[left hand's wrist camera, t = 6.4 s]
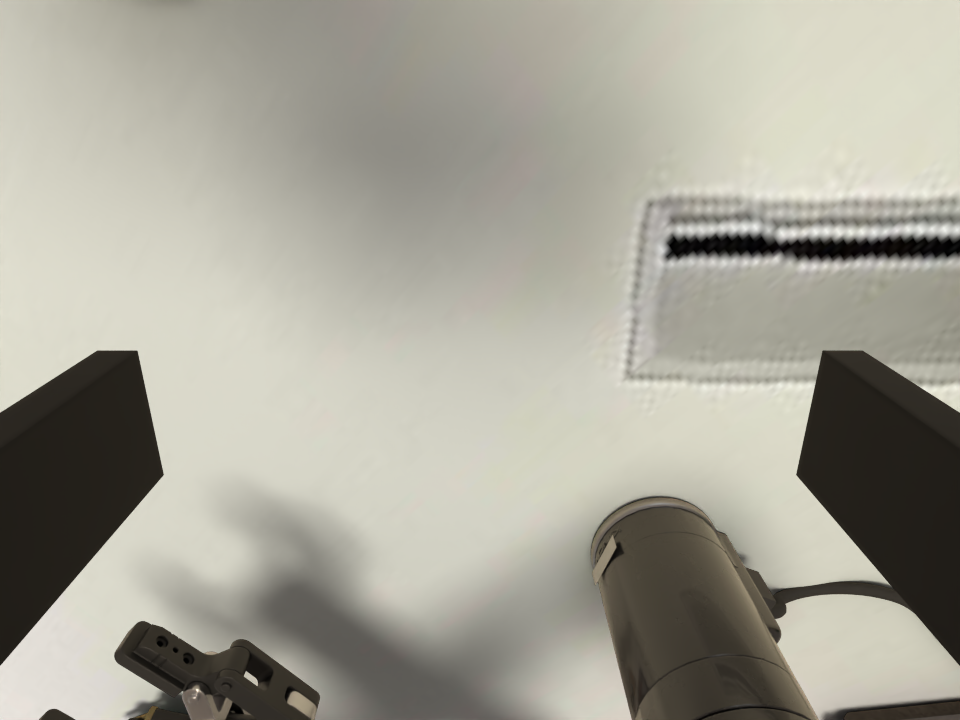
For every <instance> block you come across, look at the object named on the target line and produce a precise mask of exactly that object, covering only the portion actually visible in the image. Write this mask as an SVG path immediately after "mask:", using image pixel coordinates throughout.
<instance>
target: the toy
mask: <svg viewBox="0 0 960 720" xmlns="http://www.w3.org/2000/svg"><path fill="white" fill-rule="evenodd" d="M844 720H960V701H956V702H946V703H936V704H927V705H917V706H907V707H897V708H887V709H878V710H868V711H858V712H848V713H847V714H846V715H845V717H844Z"/></svg>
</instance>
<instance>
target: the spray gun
mask: <svg viewBox="0 0 960 720" xmlns="http://www.w3.org/2000/svg"><path fill="white" fill-rule="evenodd" d="M129 720H191V719H190V716H189V715H187V714H182V713H177V712H172V711H167V710H162V709H158V707H156V706H152V707H151V708H150V710H149V711H148V713H146V714H143V715H140V716H137V717H135V718H130V719H129Z"/></svg>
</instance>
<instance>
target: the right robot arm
mask: <svg viewBox="0 0 960 720" xmlns="http://www.w3.org/2000/svg"><path fill="white" fill-rule="evenodd" d="M591 561H592V566H593V572H592V574H593V579H594V583H595V585H596V584H597V582H598V584H599V588H600V593H601V597H602V601H603V606H604V610H605V614H606V618H607V622H608V626H609V630H610V634H611V638H612V642H613V646H614V650H615V654H616V658H617V662H618V666H619V670H620V674H621V678H622V682H623V686H624V690H625V694H626V698H627V702H628V706H629V710H630V714H631V718H632V720H819V719H818V717H817V716H816V714H815V712H814V710H813V708H812V707H811V705H810V703H809V701H808V699H807V698H806V696H805V694H804V692H803V690H802V688H801V687H800V685H799V684H798V682H797V680H796V678H795V676H794V674H793V673H792V671H791V669H790V667H789V665H788V663H787V662H786V660H785V658H784V656H783V654H782V653H781V651H780V649H779V647H778V645H777V643H778V642H779V640H780V638H781V630H780V628H779V626H778V624H777V622H776V620H775V619H777V618H781V617H782V616H784V615H785V613H786V605H785V604H786V603H788V602H791V601H794V600H797V599H800V598H804V597H810V596H816V595H827V594H853V595H864V596H871V597H876V598H881V599H885V600H889V601H893V602H895V603H898V604H901V605H903V606H905V607H906V608H908V609H910V610H911V611H912V612H913V610H912V609H911V608H910V607H909V606H908V605H907V603H906V602H905V601H904V600H903V599H902V598H901V596H900V595H899V594H898V593H897V592H896V591H895V590H894V589H890V588H887V587H883V586H878V585H873V584H866V583H858V582H833V583H825V584H819V585H813V586H805V587H796V588H790V589H785V590H782V591H780V592H778V593H776V594H775V595H772V594H771V592H770V590H769V589H768V587H767V585H766V584H765V582H764V580H763V579H762V577H761V575H760V574H759V572H757V571H754V570H751V569H748V568H746V567H745V566H744V565H743V563H742V561H741V559H740V558H739V556H738V554H737V552H736V551H735V549H734V547H733V546H732V544H731V542H730V540H729V539H728V537H727V535H725V534H722V533H719V532H717V531H716V529H715V527H714V526H713V524H712V522H711V521H710V519H709V518H708V517H707V516H706V515H705V514H704V513H703V512H702V511H701V510H699V509H698V508H697V507H695V506H693V505H691V504H689V503H687V502H684V501H681V500H677V499H672V498H649V499H644V500H640V501H636V502H634V503H631V504H629V505H626V506H624V507H623V508H621V509H619V510H618V511H616V512H615V513H613V514H612V515H611V516H610V517H609V518H608V519H607V520H606V521H605V522H604V523H603V524H602V525H601V527H600V528H599V530H598V531H597V533H596V535H595V537H594V540H593V543H592V548H591ZM114 657H115V660H116V662H117V663H118V664H120V665H121V666H123V667H125V668H126V669H128V670H129V671H131V672H133V673H134V674H136V675H138V676H139V677H141V678H142V679H144V680H146V681H147V682H149V683H151V684H152V685H154V686H156V687H157V688H159V689H160V690H162V691H164V692H165V693H167V694H169V695H170V696H172V697H173V698H175V697H176V696H177V695H178V694H179V693H180V692H181V691H183V692H184V693H183V695H182V700H183V702H184V705H185V707H186V709H187V712H188V714H189V716H190V719H191V720H314V719H315V715H316V711H317V708H318V704H319V700H320V695H319V694H318V692H317V691H315V690H314V689H312V688H311V687H310V686H308V685H307V684H306V683H304V682H303V681H302V680H300V679H299V678H298V677H296V676H295V675H294V674H292V673H291V672H290V671H288V670H287V669H286V668H284V667H283V666H282V665H280V664H279V663H277V662H276V661H275V660H273V659H272V658H271V657H269V656H268V655H267V654H265V653H264V652H263V651H261V650H260V649H259V648H257V647H256V646H255V645H253V644H252V643H251V642H249V641H247V640H243V639H239V640H236V641H234V642H233V643H232V645H231V647H230V649H228V650H226V651H223V652H221V653H216V652H206V653H202V652H200V651H198V650H197V649H195V648H194V647H192V646H191V645H189V644H188V643H186V642H185V641H183V640H181V639H180V638H179V639H178V637H177V636H175V635H174V634H171V632H169V631H167V630H166V629H164V628H163V627H160V626H156V625H153V624H152V625H151V624H149V623H148V622H145V621H141V622H138V623H137V624H136V625H135V626H134V627H133V628H132V629H131V630H130V631H129V632H128V633H127V635H126V636H125V638H124V639H123V641H122V642H121V644H120V645H119V647H118V648H117V650H116V652H115V655H114ZM245 671H247V672H248V673H250V674H251V675H253V676H254V677H255V678H256V679H257V680H258V687H257V686H256V685H255V684H253V683H252V682H250V681H249V680H248V679H246V678H245V677H243V676H244V674H245ZM39 720H75V719H73V718H72V717H70V716H68V715H66V714H65V713H63V712H61V711H59V710H57V709H51V710H49V711H47V712H46V713H45V714H44V715H43V716H42V717H41V718H40V719H39Z"/></svg>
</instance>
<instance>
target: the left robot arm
mask: <svg viewBox="0 0 960 720" xmlns="http://www.w3.org/2000/svg"><path fill="white" fill-rule="evenodd" d="M163 475H164V474H163V469H162V465H161V460H160V455H159V451H158V446H157V441H156V436H155V432H154V427H153V422H152V417H151V413H150V408H149V403H148V399H147V394H146V389H145V384H144V380H143V375H142V370H141V365H140V361H139V356H138V351H96V352H95V353H93V354H91V355H90V356H88V357H87V358H85V359H84V360H82V361H81V362H79V363H77V364H76V365H74V366H73V367H71V368H70V369H68V370H66V371H65V372H63V373H62V374H60V375H59V376H57V377H56V378H54V379H52V380H51V381H49V382H48V383H46V384H45V385H43V386H41V387H40V388H38V389H37V390H35V391H34V392H32V393H31V394H29V395H27V396H26V397H24V398H23V399H21V400H20V401H18V402H16V403H15V404H13V405H12V406H10V407H9V408H7V409H6V410H4V411H2V412H1V413H0V665H1V664H2V663H3V662H4V661H5V659H6V658H7V657H8V656H9V655H10V654H11V652H12V651H13V650H14V649H15V648H16V647H17V645H18V644H19V643H20V642H21V641H22V640H23V638H24V637H25V636H26V635H27V634H28V633H29V631H30V630H31V629H32V628H33V627H34V626H35V624H36V623H37V622H38V621H39V620H40V619H41V617H42V616H43V615H44V614H45V613H46V612H47V610H48V609H49V608H50V607H51V606H52V605H53V603H54V602H55V601H56V600H57V599H58V598H59V596H60V595H61V594H62V593H63V592H64V591H65V589H66V588H67V587H68V586H69V585H70V584H71V582H72V581H73V580H74V579H75V578H76V577H77V575H78V574H79V573H80V572H81V571H82V570H83V568H84V567H85V566H86V565H87V564H88V563H89V561H90V560H91V559H92V558H93V557H94V556H95V554H96V553H97V552H98V551H99V550H100V549H101V547H102V546H103V545H104V544H105V543H106V542H107V540H108V539H109V538H110V537H111V536H112V535H113V533H114V532H115V531H116V530H117V529H118V528H119V526H120V525H121V524H122V523H123V522H124V521H125V519H126V518H127V517H128V516H129V515H130V514H131V512H132V511H133V510H134V509H135V508H136V507H137V505H138V504H139V503H140V502H141V501H142V500H143V498H144V497H145V496H146V495H147V494H148V493H149V491H150V490H151V489H152V488H153V487H154V486H155V484H156V483H157V482H158V481H159V480H160V479H161V477H162V476H163ZM796 475H797V476H798V477H799V479H800V480H801V481H802V482H803V483H804V484H805V486H806V487H807V488H808V489H809V490H810V491H811V493H812V494H813V495H814V496H815V497H816V498H817V500H818V501H819V502H820V503H821V504H822V505H823V507H824V508H825V509H826V510H827V511H828V512H829V514H830V515H831V516H832V517H833V518H834V519H835V521H836V522H837V523H838V524H839V525H840V526H841V528H842V529H843V530H844V531H845V532H846V533H847V535H848V536H849V537H850V538H851V539H852V540H853V542H854V543H855V544H856V545H857V546H858V547H859V549H860V550H861V551H862V552H863V553H864V554H865V556H866V557H867V558H868V559H869V560H870V561H871V563H872V564H873V565H874V566H875V567H876V568H877V570H878V571H879V572H880V573H881V574H882V575H883V577H884V578H885V579H886V580H887V581H888V582H889V584H890V585H891V586H892V587H893V588H894V589H895V591H896V592H897V593H898V594H899V595H900V596H901V598H902V599H903V600H904V601H905V602H906V603H907V605H908V606H909V607H910V608H911V609H912V610H913V612H914V613H915V614H916V615H917V616H918V617H919V619H920V620H921V621H922V622H923V623H924V624H925V626H926V627H927V628H928V629H929V630H930V631H931V633H932V634H933V635H934V636H935V637H936V638H937V640H938V641H939V642H940V643H941V644H942V645H943V647H944V648H945V649H946V650H947V651H948V652H949V654H950V655H951V656H952V657H953V658H954V659H955V661H956V662H957V663H958V664H959V665H960V413H959V412H958V411H956V410H954V409H953V408H951V407H950V406H948V405H947V404H945V403H944V402H942V401H940V400H939V399H937V398H936V397H934V396H933V395H931V394H929V393H928V392H926V391H925V390H923V389H922V388H920V387H919V386H917V385H915V384H914V383H912V382H911V381H909V380H908V379H906V378H904V377H903V376H901V375H900V374H898V373H897V372H895V371H894V370H892V369H890V368H889V367H887V366H886V365H884V364H883V363H881V362H879V361H878V360H876V359H875V358H873V357H872V356H870V355H869V354H867V353H865V352H864V351H822V356H821V361H820V365H819V370H818V375H817V380H816V384H815V389H814V394H813V399H812V403H811V408H810V413H809V417H808V422H807V427H806V432H805V436H804V441H803V446H802V450H801V455H800V460H799V465H798V469H797V474H796Z"/></svg>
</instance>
